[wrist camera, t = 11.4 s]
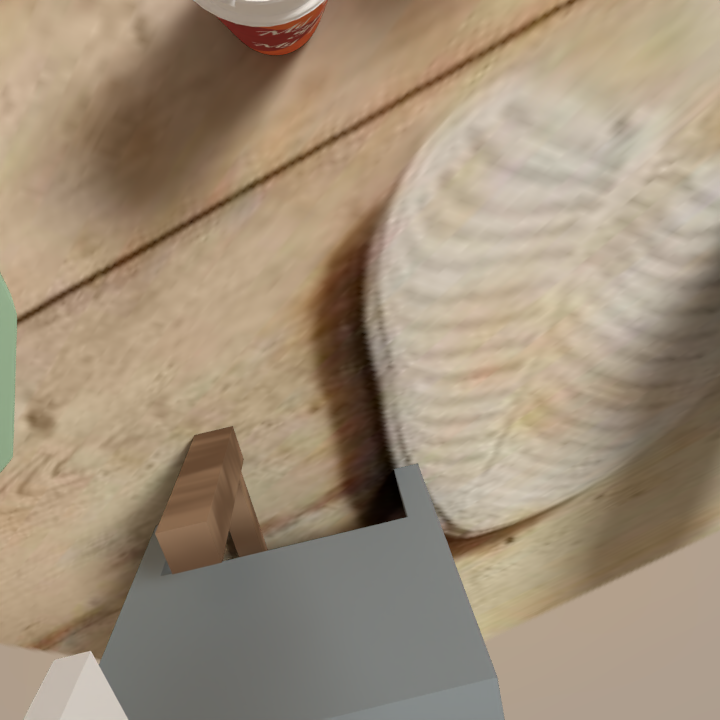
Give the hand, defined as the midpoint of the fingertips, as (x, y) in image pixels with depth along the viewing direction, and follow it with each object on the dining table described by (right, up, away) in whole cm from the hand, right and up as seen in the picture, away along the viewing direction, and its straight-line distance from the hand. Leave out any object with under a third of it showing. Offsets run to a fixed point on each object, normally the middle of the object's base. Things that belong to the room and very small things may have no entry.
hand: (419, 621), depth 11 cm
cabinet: (-6, -10, +35) cm, 37 cm away
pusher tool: (-11, -8, +34) cm, 37 cm away
